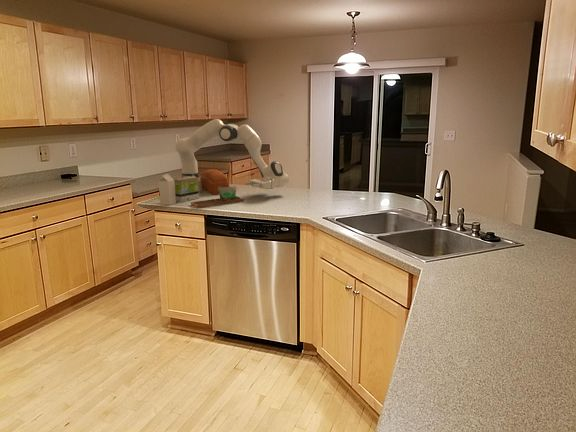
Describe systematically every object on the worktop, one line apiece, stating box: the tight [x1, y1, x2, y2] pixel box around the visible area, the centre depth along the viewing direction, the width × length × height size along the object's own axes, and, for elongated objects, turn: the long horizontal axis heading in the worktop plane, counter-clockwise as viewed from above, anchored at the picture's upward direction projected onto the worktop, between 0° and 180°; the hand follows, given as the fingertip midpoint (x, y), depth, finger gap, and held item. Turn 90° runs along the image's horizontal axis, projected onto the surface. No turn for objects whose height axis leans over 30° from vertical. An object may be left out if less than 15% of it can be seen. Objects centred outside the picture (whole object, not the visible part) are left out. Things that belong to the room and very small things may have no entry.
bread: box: [199, 168, 230, 196], centre depth 313 cm, size 14×33×16 cm, turn 28°
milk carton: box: [158, 173, 177, 206], centre depth 270 cm, size 7×7×19 cm
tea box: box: [172, 176, 200, 203], centre depth 283 cm, size 15×10×15 cm
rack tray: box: [190, 195, 244, 209], centre depth 271 cm, size 11×31×2 cm, turn 123°
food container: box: [218, 185, 238, 202], centre depth 274 cm, size 12×6×10 cm, turn 105°
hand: (249, 185), depth 281 cm, fingers open, 8 cm apart
